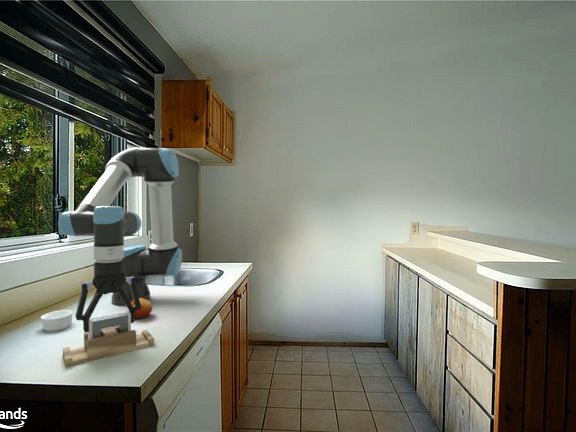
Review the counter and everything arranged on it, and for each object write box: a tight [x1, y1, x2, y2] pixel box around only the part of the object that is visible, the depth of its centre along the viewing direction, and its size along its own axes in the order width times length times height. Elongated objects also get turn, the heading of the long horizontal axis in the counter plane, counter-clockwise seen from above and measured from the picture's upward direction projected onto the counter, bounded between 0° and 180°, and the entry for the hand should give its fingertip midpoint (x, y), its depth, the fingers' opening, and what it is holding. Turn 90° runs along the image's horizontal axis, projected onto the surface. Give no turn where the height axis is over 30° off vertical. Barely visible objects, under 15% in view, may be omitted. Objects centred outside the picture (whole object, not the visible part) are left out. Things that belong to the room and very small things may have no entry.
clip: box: [90, 311, 128, 339], centre depth 93 cm, size 3×9×6 cm, turn 128°
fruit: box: [131, 298, 154, 319], centre depth 120 cm, size 8×8×8 cm
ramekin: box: [40, 309, 73, 332], centre depth 111 cm, size 9×9×4 cm
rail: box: [62, 326, 155, 368], centre depth 94 cm, size 8×22×5 cm, turn 128°
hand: (109, 338), depth 94 cm, fingers closed on clip, 9 cm apart
